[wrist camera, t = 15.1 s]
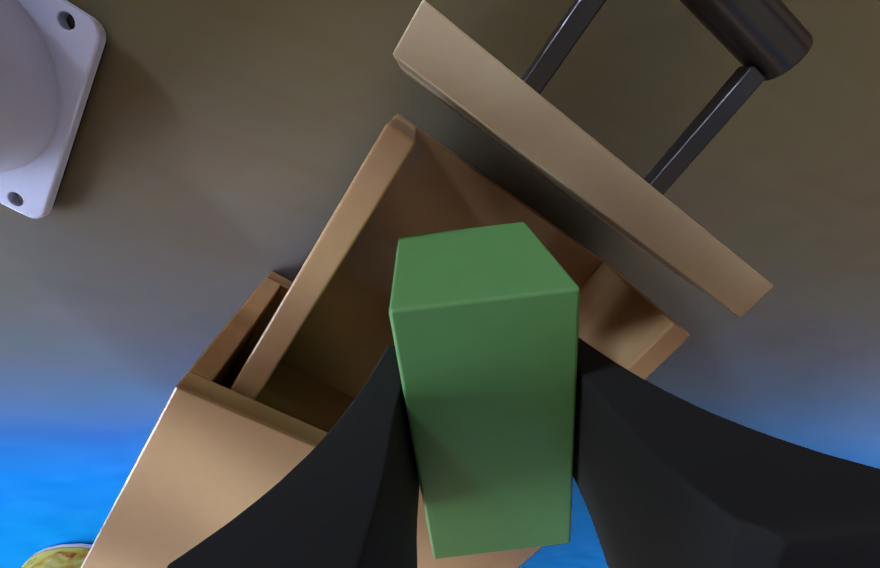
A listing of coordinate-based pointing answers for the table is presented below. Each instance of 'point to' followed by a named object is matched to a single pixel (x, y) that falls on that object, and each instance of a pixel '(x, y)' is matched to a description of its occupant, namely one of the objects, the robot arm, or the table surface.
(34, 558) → the canned food
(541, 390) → the green block
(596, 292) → the drawer
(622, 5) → the table surface
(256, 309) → the cabinet
